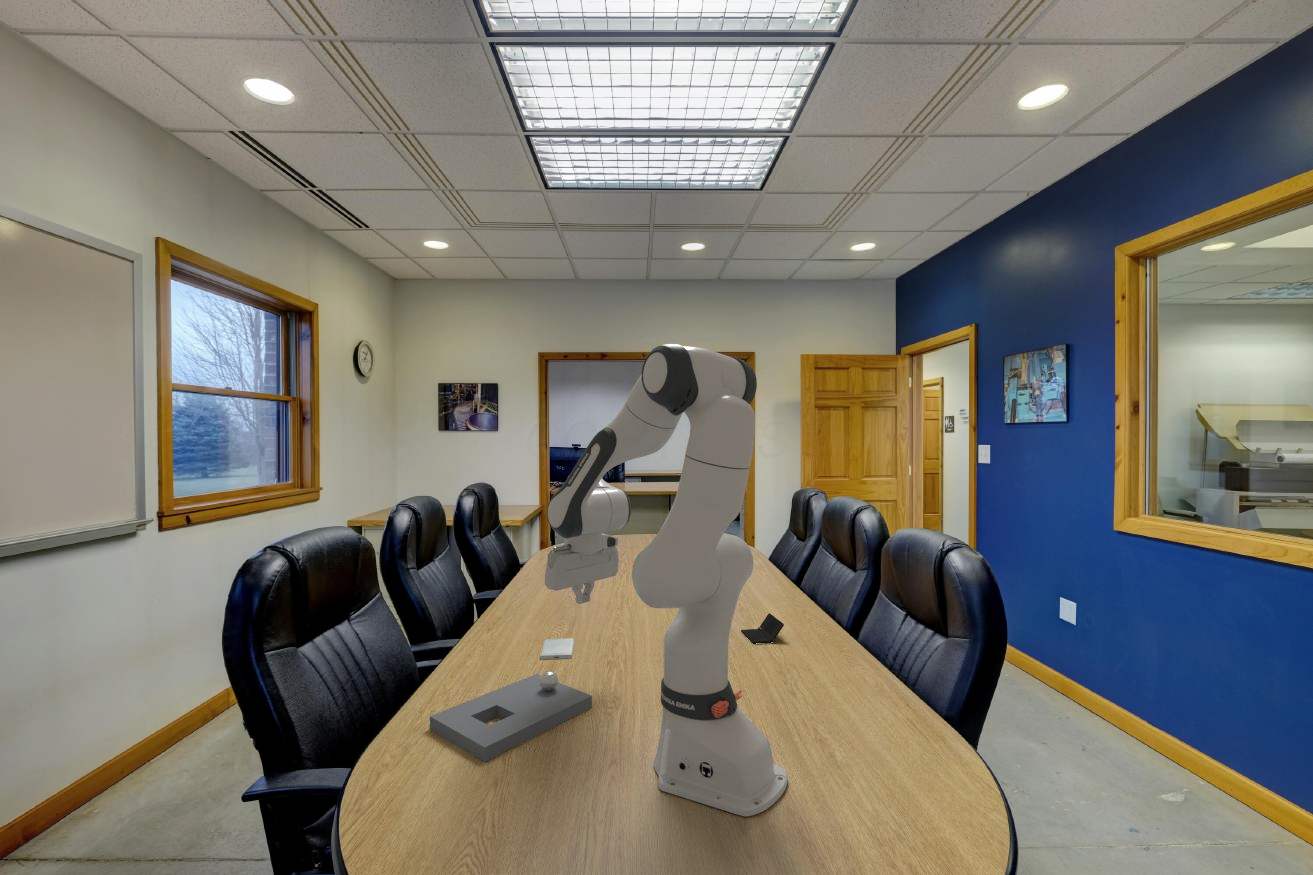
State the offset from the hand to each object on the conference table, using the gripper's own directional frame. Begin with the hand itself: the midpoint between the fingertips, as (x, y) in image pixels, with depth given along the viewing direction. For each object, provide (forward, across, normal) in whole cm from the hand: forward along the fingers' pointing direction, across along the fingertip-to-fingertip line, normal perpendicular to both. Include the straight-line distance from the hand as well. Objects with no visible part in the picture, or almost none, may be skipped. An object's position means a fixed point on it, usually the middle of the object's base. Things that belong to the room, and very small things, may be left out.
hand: (583, 602), depth 127 cm
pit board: (+19, -19, 0) cm, 27 cm away
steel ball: (+15, -10, 0) cm, 18 cm away
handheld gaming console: (+20, +56, -16) cm, 61 cm away
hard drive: (+20, +12, +22) cm, 32 cm away
